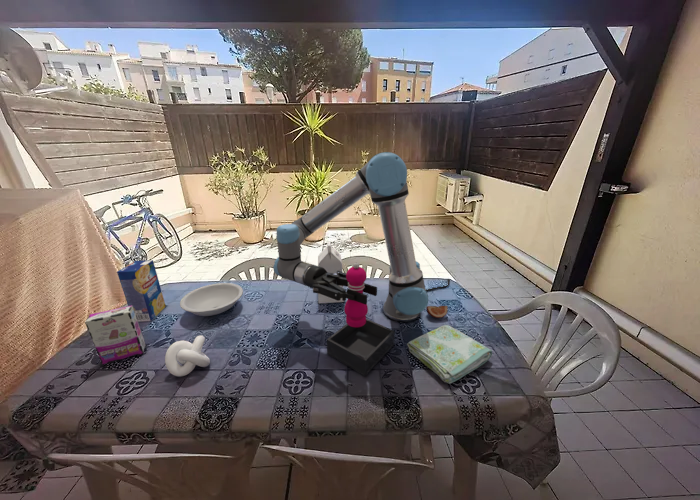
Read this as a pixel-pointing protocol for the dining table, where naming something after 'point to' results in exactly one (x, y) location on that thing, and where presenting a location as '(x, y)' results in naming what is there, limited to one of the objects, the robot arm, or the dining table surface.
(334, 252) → the milk
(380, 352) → the open box
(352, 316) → the pepper mill
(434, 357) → the towel
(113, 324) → the candy bar box
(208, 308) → the soup bowl
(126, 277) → the blue cracker box
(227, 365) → the dining table surface
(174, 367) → the white knot sculpture
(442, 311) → the fruit slice
